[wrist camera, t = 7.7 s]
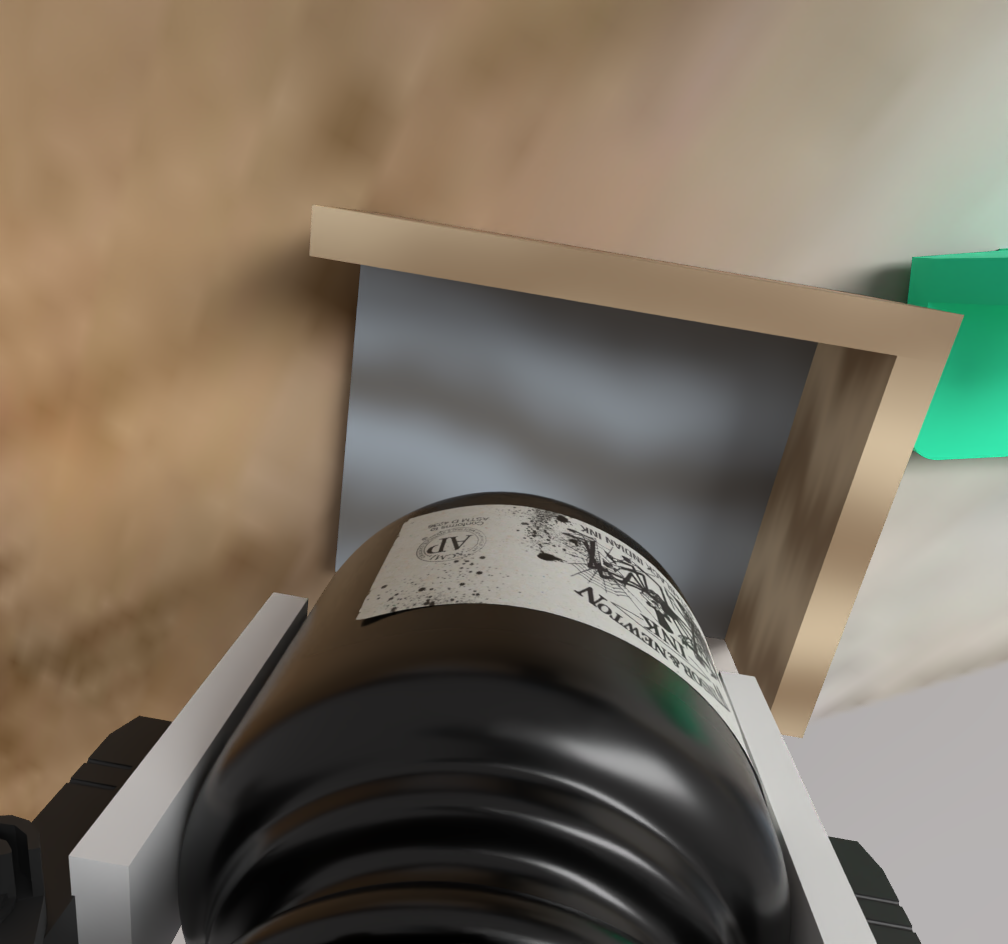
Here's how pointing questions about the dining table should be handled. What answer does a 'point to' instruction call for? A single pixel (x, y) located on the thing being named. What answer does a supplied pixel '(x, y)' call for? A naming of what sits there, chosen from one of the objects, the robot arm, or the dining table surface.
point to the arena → (642, 417)
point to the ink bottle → (488, 755)
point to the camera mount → (967, 354)
